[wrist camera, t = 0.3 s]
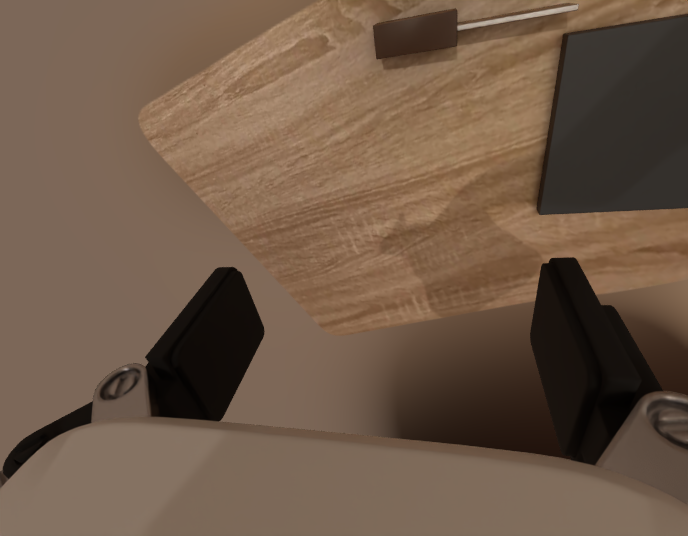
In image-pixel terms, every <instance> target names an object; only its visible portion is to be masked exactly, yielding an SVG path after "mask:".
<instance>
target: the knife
mask: <svg viewBox="0 0 688 536" xmlns="http://www.w3.org/2000/svg"><path fill="white" fill-rule="evenodd" d="M578 6H579V4H573V3H565V4H559V5H554V6H548V7H543V8H537V9H531V10H526V11H520V12H515V13H509V14H504V15H498V16H492V17H487V18H481V19H476V20H470V21H465V22H459V23H457V9H456V8H455V9H449V10H444V11H439V12H434V13H428V14H423V15H418V16H413V17H407V18H402V19H397V20H392V21H386V22H381V23H377V24H375V25H374V26H373V29H374V39H375V49H376V59H381V58H387V57H394V56H400V55H406V54H412V53H418V52H424V51H430V50H436V49H442V48H448V47H455V46H457V31H460V30H466V29H472V28H478V27H483V26H489V25H495V24H501V23H506V22H512V21H518V20H524V19H529V18H535V17H541V16H547V15H552V14H558V13H564V12H570V11H575V10H578Z"/></svg>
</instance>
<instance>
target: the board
mask: <svg viewBox="0 0 688 536" xmlns="http://www.w3.org/2000/svg"><path fill="white" fill-rule="evenodd" d="M676 208H688V14H683V15H677V16H671V17H664V18H658V19H652V20H646V21H640V22H633V23H627V24H621V25H615V26H608V27H602V28H596V29H590V30H584V31H577V32H571V33H565V34H563V41H562V47H561V54H560V60H559V67H558V73H557V80H556V86H555V93H554V99H553V106H552V112H551V119H550V125H549V132H548V138H547V145H546V151H545V158H544V164H543V171H542V177H541V184H540V190H539V197H538V203H537V210H538V213H539V215H548V214H569V213H591V212H612V211H633V210H654V209H676Z"/></svg>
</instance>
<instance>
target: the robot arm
mask: <svg viewBox="0 0 688 536" xmlns="http://www.w3.org/2000/svg"><path fill="white" fill-rule="evenodd" d="M263 336H264V326H263V324H262V322H261V319H260V316H259V314H258V312H257V309H256V307H255V304H254V302H253V299H252V297H251V295H250V292H249V290H248V287H247V285H246V282H245V280H244V278H243V275H242V273H241V272H239V271H237V269H236V268H234V267H220V268H217V269H215V271H214V272H213V273H212V274H211V276H210V277H209V278H208V279H207V281H206V282H205V283H204V285H203V286H202V287H201V288H200V289H199V291H198V292H197V293H196V294H195V296H194V297H193V298H192V299H191V300H190V302H189V303H188V304H187V306H186V307H185V308H184V309H183V311H182V312H181V313H180V314H179V316H178V317H177V318H176V319H175V320H174V322H173V323H172V324H171V325H170V327H169V328H168V329H167V331H166V332H165V333H164V334H163V336H162V337H161V338H160V339H159V340H158V342H157V343H156V344H155V345H154V347H153V348H152V349H151V350H150V352H149V353H148V354H147V355H146V357H145V358H146V359H147V360H148V362H149V363H148V364H147V366H146V367H145V366H143V365H141V364H138V363H133V364H127V365H125V366H122V367H120V368H118V369H116V370H114V371H112V372H111V373H110V374H109V375H107V376H106V377H105V378H104V379H103V380H102V381H101V382H100V383H99V385H98V386H97V388H96V389H95V392H94V396H93V401H92V402H90V403H89V404H87V405H85V406H83V407H81V408H79V409H77V410H75V411H74V412H71V413H70V414H68V415H66V416H64V417H62V418H60V419H58V420H56V421H54V422H53V423H51V424H49V425H47V426H45V427H43V428H41V429H39V430H38V431H36V432H34V433H32V434H31V435H29V436H28V437H26V438H25V439H23V440H22V441H21V442H20V443H19V444H18V445H17V446H16V447H15V448H14V449H13V450H12V451H11V453H10V454H9V456H8V457H7V459H6V460H5V463H4V466H3V470H2V471H0V536H688V396H685V395H683V394H679V393H673V392H669V391H663V390H662V388H661V387H660V384H659V383H658V381H657V379H656V378H655V376H654V374H653V372H652V371H651V369H650V367H649V365H648V364H647V362H646V360H645V359H644V357H643V355H642V353H641V352H640V350H639V348H638V347H637V345H636V343H635V341H634V340H633V338H632V337H631V335H630V333H629V331H628V329H627V327H626V326H625V324H624V322H623V321H622V319H621V317H620V315H619V314H618V312H617V311H616V309H615V308H614V307H612V306H611V305H601V304H600V302H599V300H598V298H597V297H596V295H595V293H594V291H593V289H592V287H591V285H590V284H589V282H588V280H587V278H586V276H585V274H584V272H583V271H582V269H581V267H580V265H579V263H578V261H577V260H576V258H574V257H572V258H551V259H550V261H549V263H544V264H542V266H541V271H540V277H539V283H538V289H537V295H536V301H535V308H534V314H533V320H532V326H531V333H530V338H531V345H532V349H533V353H534V356H535V360H536V363H537V367H538V371H539V374H540V378H541V381H542V385H543V389H544V392H545V396H546V399H547V403H548V407H549V410H550V414H551V417H552V421H553V425H554V428H555V432H556V436H557V439H558V443H559V446H560V450H561V452H562V454H563V455H566V456H570V458H571V460H568V459H563V458H557V457H550V456H544V455H538V454H531V453H523V452H515V451H507V450H498V449H490V448H481V447H473V446H464V445H455V444H444V443H435V442H426V441H416V440H405V439H396V438H385V437H376V436H365V435H356V434H345V433H335V432H325V431H315V430H305V429H294V428H284V427H273V426H262V425H251V424H240V423H229V422H219V421H220V420H221V419H222V418H223V416H224V414H225V412H226V410H227V408H228V406H229V404H230V402H231V400H232V398H233V396H234V394H235V392H236V390H237V388H238V386H239V384H240V383H241V381H242V379H243V377H244V375H245V372H246V370H247V369H248V367H249V364H250V362H251V361H252V359H253V356H254V355H255V353H256V350H257V349H258V347H259V345H260V342H261V341H262V339H263Z"/></svg>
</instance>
